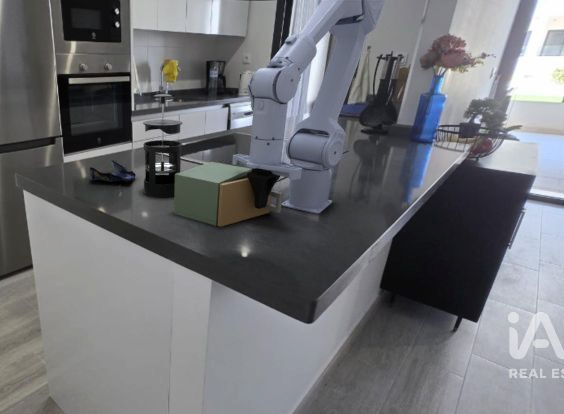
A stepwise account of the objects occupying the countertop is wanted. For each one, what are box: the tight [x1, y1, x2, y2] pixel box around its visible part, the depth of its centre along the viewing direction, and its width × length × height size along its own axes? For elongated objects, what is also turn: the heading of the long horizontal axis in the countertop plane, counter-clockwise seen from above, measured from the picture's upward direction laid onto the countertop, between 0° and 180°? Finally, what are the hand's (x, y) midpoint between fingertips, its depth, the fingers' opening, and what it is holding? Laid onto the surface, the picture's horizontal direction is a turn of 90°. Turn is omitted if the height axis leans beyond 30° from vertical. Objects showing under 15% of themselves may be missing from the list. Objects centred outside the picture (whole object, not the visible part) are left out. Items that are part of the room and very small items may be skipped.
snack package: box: [88, 159, 137, 187], centre depth 102 cm, size 12×6×12 cm
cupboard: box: [173, 161, 252, 227], centre depth 79 cm, size 10×14×9 cm
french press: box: [142, 93, 183, 199], centre depth 89 cm, size 12×9×23 cm
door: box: [217, 178, 284, 228], centre depth 73 cm, size 4×14×8 cm, turn 122°
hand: (260, 207), depth 74 cm, fingers closed
